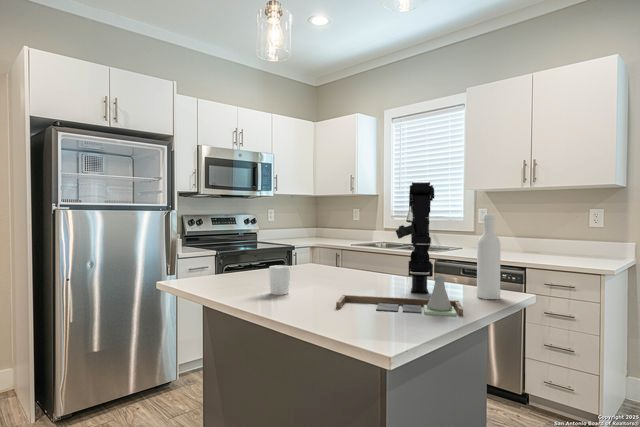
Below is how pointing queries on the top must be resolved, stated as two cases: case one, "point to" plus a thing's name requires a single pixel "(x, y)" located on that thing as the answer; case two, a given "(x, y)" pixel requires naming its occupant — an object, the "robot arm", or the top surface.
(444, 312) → the pad
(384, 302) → the box
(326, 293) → the top surface
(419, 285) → the robot arm
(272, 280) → the white cup
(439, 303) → the flask
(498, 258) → the bottle
